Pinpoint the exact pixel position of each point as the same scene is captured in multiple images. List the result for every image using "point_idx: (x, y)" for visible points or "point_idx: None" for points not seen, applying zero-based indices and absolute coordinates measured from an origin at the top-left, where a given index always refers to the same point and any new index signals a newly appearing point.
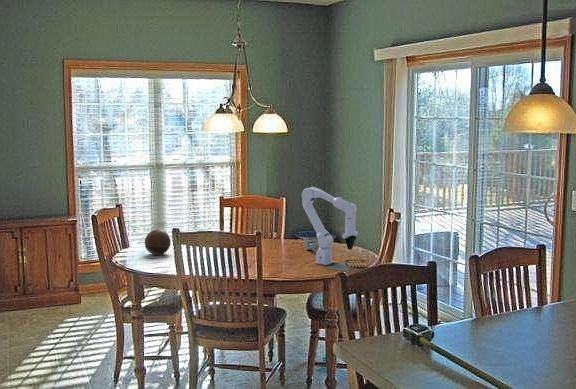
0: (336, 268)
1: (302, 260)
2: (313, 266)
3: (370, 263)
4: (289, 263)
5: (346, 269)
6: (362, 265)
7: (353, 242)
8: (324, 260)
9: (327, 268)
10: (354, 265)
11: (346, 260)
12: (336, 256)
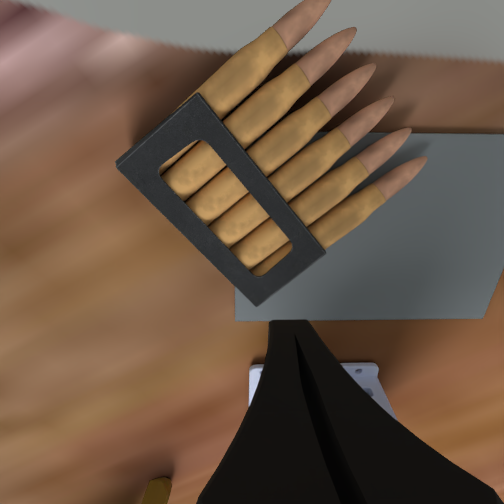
0: (476, 251)
1: None
2: (446, 397)
3: (49, 100)
4: None
5: (487, 159)
6: (333, 52)
7: (282, 405)
8: (387, 401)
9: (483, 307)
10: (337, 157)
11: (268, 289)
12: (72, 434)
